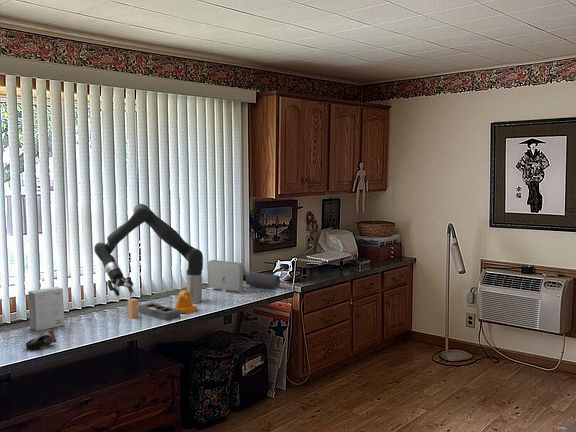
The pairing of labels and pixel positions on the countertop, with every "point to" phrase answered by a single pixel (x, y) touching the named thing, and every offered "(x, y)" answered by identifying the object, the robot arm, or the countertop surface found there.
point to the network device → (225, 276)
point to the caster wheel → (42, 340)
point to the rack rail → (159, 311)
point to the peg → (132, 308)
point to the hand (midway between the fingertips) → (125, 294)
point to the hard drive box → (46, 308)
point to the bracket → (185, 302)
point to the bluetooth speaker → (263, 280)
